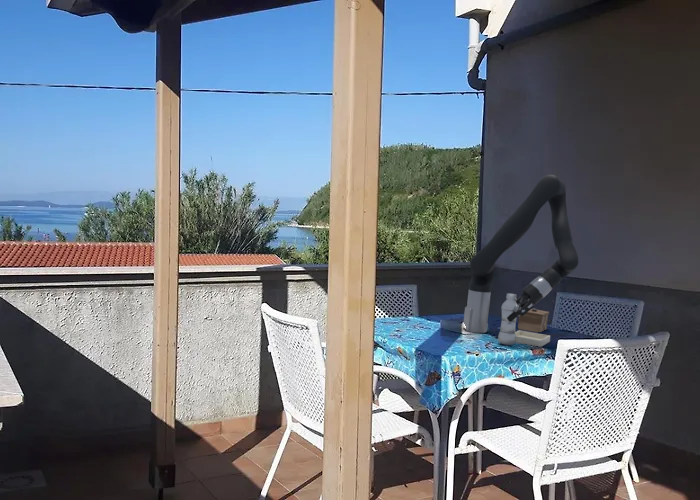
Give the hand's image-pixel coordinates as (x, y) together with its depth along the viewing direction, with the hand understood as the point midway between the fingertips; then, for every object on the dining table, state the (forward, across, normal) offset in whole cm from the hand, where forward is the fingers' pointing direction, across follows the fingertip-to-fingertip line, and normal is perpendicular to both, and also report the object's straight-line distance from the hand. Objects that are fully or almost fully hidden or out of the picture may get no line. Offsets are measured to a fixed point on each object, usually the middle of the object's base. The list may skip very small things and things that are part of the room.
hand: (505, 318), depth 262 cm
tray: (-4, -9, +18) cm, 21 cm away
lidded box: (-14, -37, +29) cm, 49 cm away
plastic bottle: (+6, 0, +9) cm, 11 cm away
